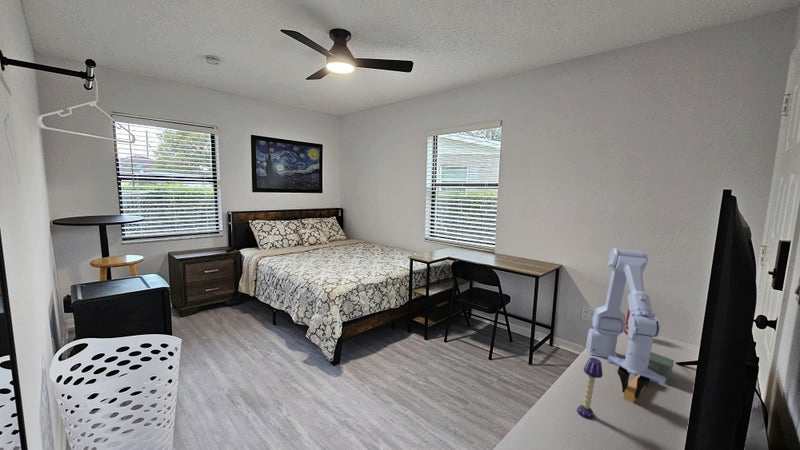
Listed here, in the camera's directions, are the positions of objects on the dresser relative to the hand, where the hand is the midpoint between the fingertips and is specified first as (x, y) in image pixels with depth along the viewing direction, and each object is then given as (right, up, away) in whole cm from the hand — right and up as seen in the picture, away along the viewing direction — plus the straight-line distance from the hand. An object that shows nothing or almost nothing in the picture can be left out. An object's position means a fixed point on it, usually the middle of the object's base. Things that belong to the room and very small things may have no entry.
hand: (630, 394), depth 104 cm
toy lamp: (-18, -2, -7) cm, 19 cm away
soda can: (+30, +4, +43) cm, 52 cm away
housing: (+16, 0, +14) cm, 22 cm away
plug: (+6, -1, +6) cm, 8 cm away
